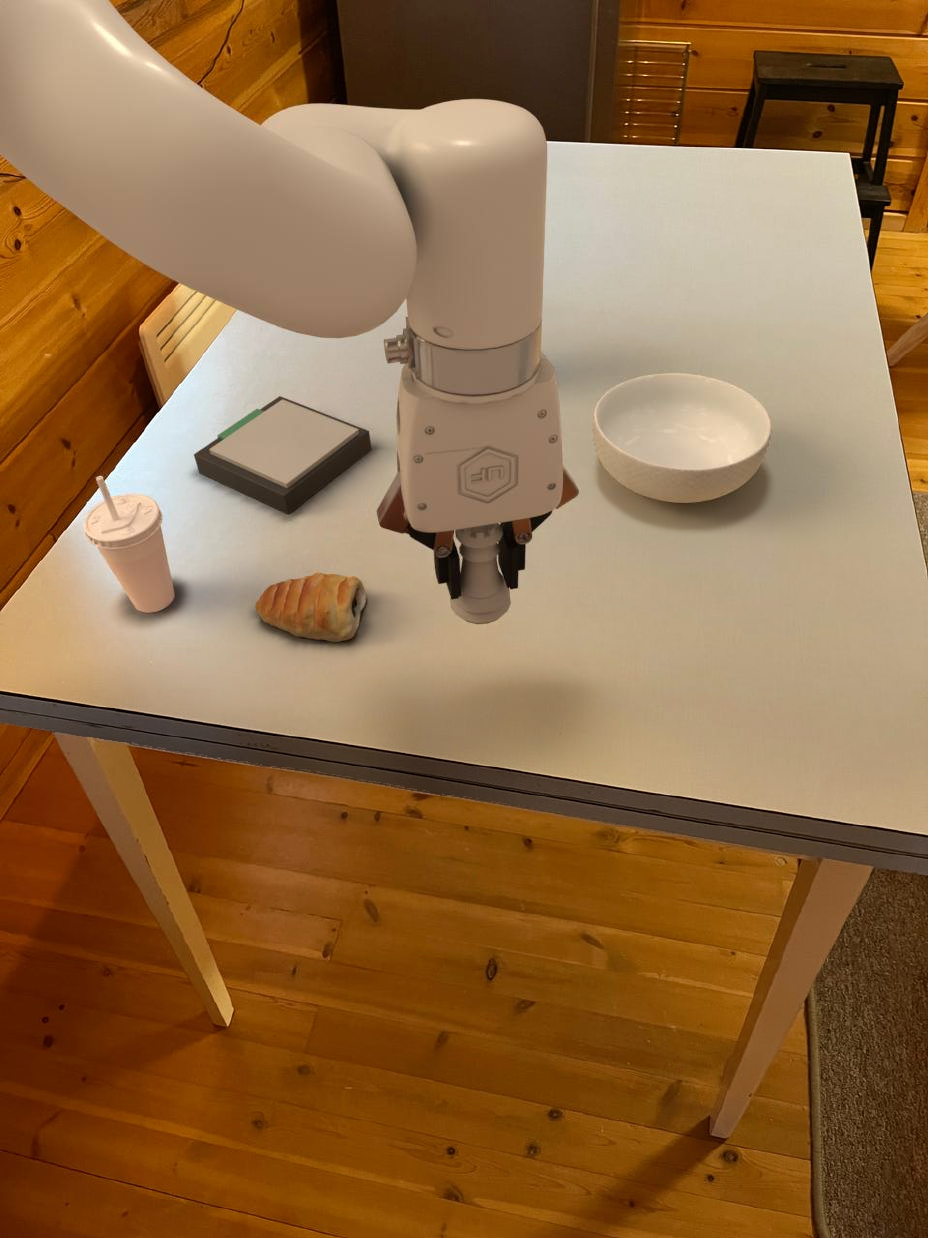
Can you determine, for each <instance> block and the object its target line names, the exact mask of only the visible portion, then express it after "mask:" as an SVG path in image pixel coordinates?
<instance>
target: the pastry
mask: <svg viewBox="0 0 928 1238" xmlns="http://www.w3.org/2000/svg"><path fill="white" fill-rule="evenodd" d="M366 601H367V592H366V589H365V585H364V584H363V582H362V580H361V579H359V578H358V577H357V576H355V575H352V576H345V575H341V574H335V573H329V574H327V573H322V572H315V573H313V574H310V575H306V576H304V577H300V578H290V579H287V580H284V581H280V582H278V583H275V584H271V585H269V586H268V587H267V588H265V589H264V591H263V592H262V593H261V595H260V596H259V598H258V600H257V601H256V602H255V604H254V608H255V611H256V612H257V615H259V617H260V619H261V620H262V622H264V623H267V624H268V625H270V626H272V627H275V628H278V629H279V630H281V631H286V632H288V633H289V634H291V635H293V636H295V637H298V638H302V637H303V638H304V639H305V638H306V639H309V640H311V639H312V640H316V641H319V640H325V641H327V642H334V643H337V642H338V643H339V642H343V641H348V640H350V639H352V638H354V636H355V635H356V633H357V631H358V628H359V626H360V620H361V612H362V611H363V609H364V607H365V605H366Z"/></svg>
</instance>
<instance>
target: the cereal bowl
mask: <svg viewBox="0 0 928 1238" xmlns="http://www.w3.org/2000/svg"><path fill="white" fill-rule="evenodd" d="M770 417H771V416H770V415H769V413H768V411H767V410H766V408H765V407H764V405H763V404H762V403H761V402H760V401H759V400H758V399H757V398H755V396H753V395H752V394H750V393H748V392H747V391H746V390H744V389H742V388H740V387H739V386H736V385H734V384H732V383H729V382H727V381H724V380H721V379H718V378H714V377H710V376H706V375H700V374H695V373H694V374H693V373H684V372H683V373H682V372H679V373H678V372H666V373H665V372H664V373H655V374H648V375H642V376H638V377H635V378H631V379H628V380H626V381H623V382H620V383H619V384H616V385H615V386H613V387H611V388H610V389H609V390H607V391H606V392H605V393H604V394H603V395H602V396H601V398H599V400H598V402H597V403H596V406H595V408H594V412H593V419H592V420H593V422H592V434H593V446H594V447H595V452H596V455H597V458H598V459H599V460H600V461H599V462H600V463H601V464H602V466H603V468H604V469H605V470H606V471H607V473H608V474H609V475H610V476H611V478H614V480H615V481H616V482H618V483H619V484H620V485H621V486H624V487H625V488H626V489H628V490H630V491H632V492H633V493H636V494H637V495H640V496H644V497H646V498H649V499H653V500H657V501H661V502H667V503H668V502H669V503H674V504H677V503H679V504H688V503H689V504H692V503H700V502H701V503H702V502H706V501H710V500H714V499H719V498H721V497H724V496H726V495H728V494H730V493H732V492H733V491H736V490H738V489H739V488H740V487H742V486H743V485H745V483H747V482H748V481H750V480H751V478H752V477H754V475H755V473H756V472H757V471H758V470H759V467H760V466H761V465H762V463H763V461H764V459H765V456H766V454H767V452H768V449H769V446H770V440H771V438H772V432H773V431H772V430H773V429H772V428H773V427H772V421H771V418H770Z"/></svg>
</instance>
